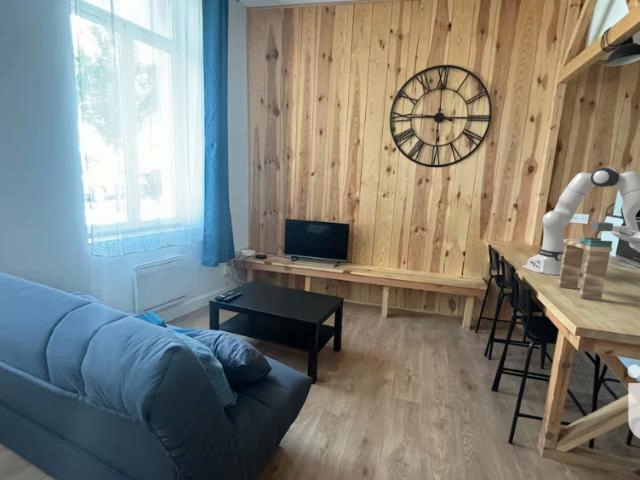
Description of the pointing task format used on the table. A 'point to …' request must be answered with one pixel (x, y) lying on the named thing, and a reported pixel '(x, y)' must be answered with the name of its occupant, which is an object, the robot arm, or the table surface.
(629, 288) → the table surface
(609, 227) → the beige and grey block
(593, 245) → the brown and teal frame
